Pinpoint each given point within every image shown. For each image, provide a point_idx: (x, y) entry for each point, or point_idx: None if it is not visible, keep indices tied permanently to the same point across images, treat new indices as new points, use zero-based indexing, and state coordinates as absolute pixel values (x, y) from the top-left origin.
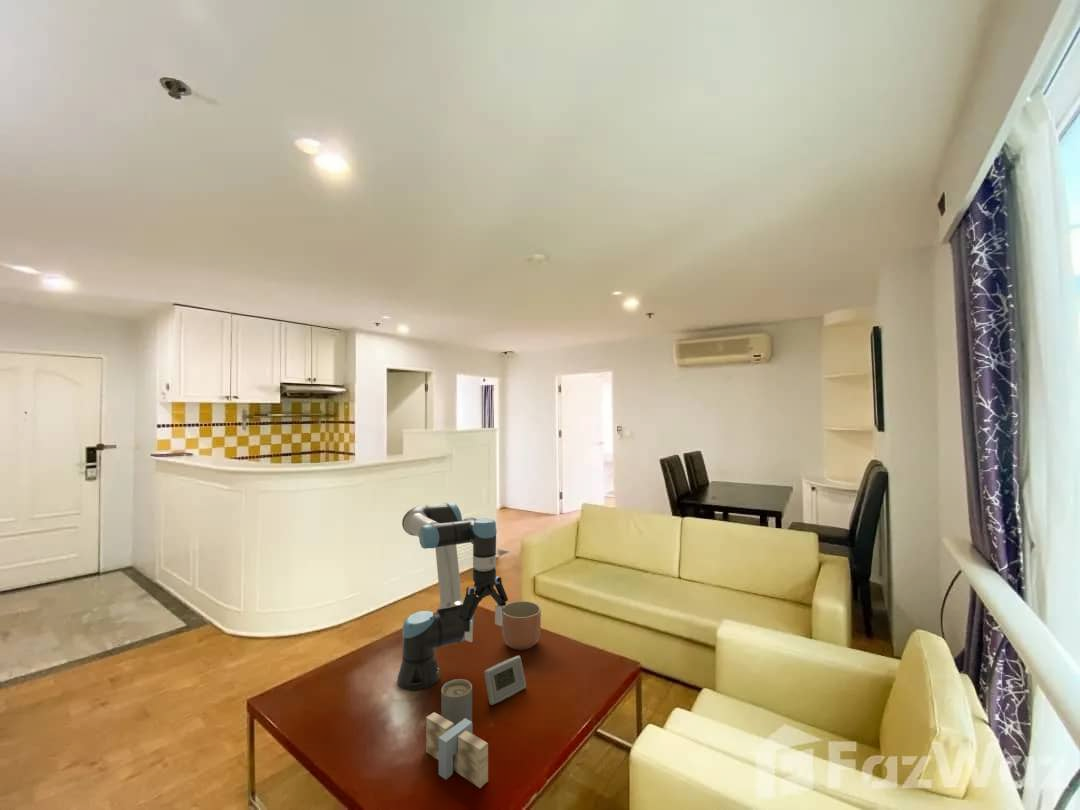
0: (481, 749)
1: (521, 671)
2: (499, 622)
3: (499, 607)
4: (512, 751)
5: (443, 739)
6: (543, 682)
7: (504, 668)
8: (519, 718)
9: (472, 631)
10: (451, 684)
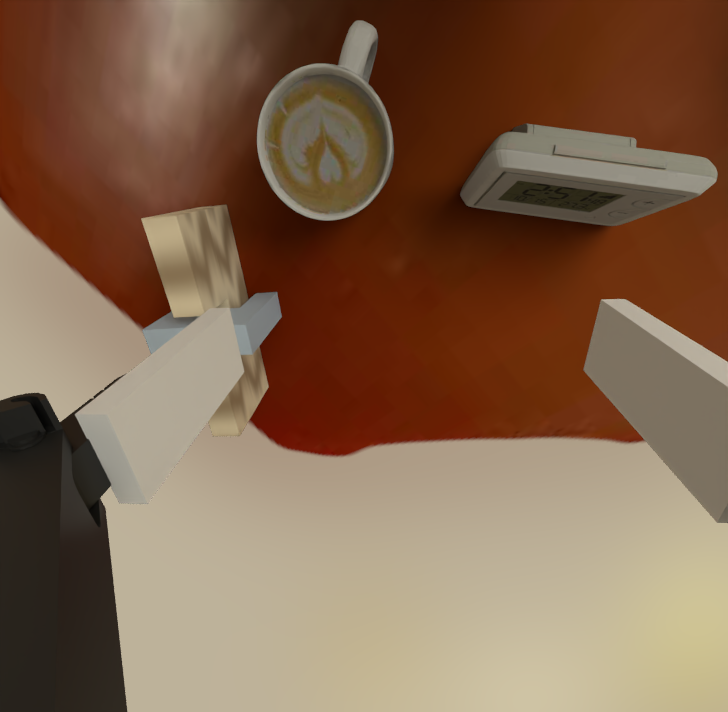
0: (218, 435)
1: (647, 209)
2: (601, 371)
3: (715, 488)
4: (361, 371)
5: (150, 346)
6: (681, 244)
7: (585, 186)
8: (466, 308)
9: (207, 420)
10: (338, 79)
